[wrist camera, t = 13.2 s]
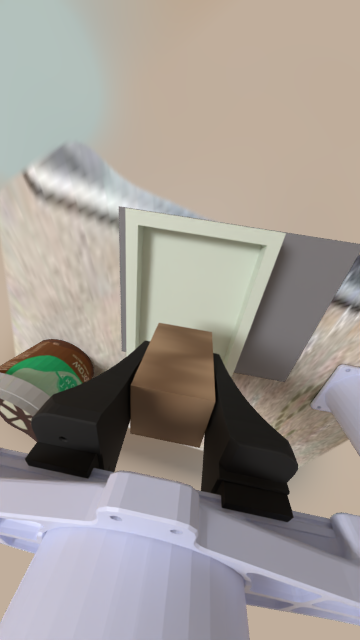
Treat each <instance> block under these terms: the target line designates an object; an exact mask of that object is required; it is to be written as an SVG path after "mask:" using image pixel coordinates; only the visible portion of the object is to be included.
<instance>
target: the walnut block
mask: <svg viewBox="0 0 360 640" xmlns="http://www.w3.org/2000/svg"><path fill="white" fill-rule="evenodd" d="M214 404H215V382H214V362H213V341H212V332H209V331H203V330H198V329H192V328H187V327H181V326H175V325H170V324H164V323H158V326H157V328H156V330H155V332H154V334H153V337H152V339H151V341H150V343H149V346H148V348H147V350H146V352H145V354H144V357H143V359H142V361H141V363H140V365H139V368H138V370H137V372H136V374H135V377H134V379H133V381H132V383H131V422H130V432H131V434H135V435H141V436H146V437H150V438H155V439H160V440H164V441H169V442H174V443H179V444H184V445H189V446H194V447H198V448H200V445H201V442H202V439H203V436H204V433H205V430H206V428H207V425H208V422H209V419H210V416H211V413H212V410H213V407H214Z"/></svg>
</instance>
